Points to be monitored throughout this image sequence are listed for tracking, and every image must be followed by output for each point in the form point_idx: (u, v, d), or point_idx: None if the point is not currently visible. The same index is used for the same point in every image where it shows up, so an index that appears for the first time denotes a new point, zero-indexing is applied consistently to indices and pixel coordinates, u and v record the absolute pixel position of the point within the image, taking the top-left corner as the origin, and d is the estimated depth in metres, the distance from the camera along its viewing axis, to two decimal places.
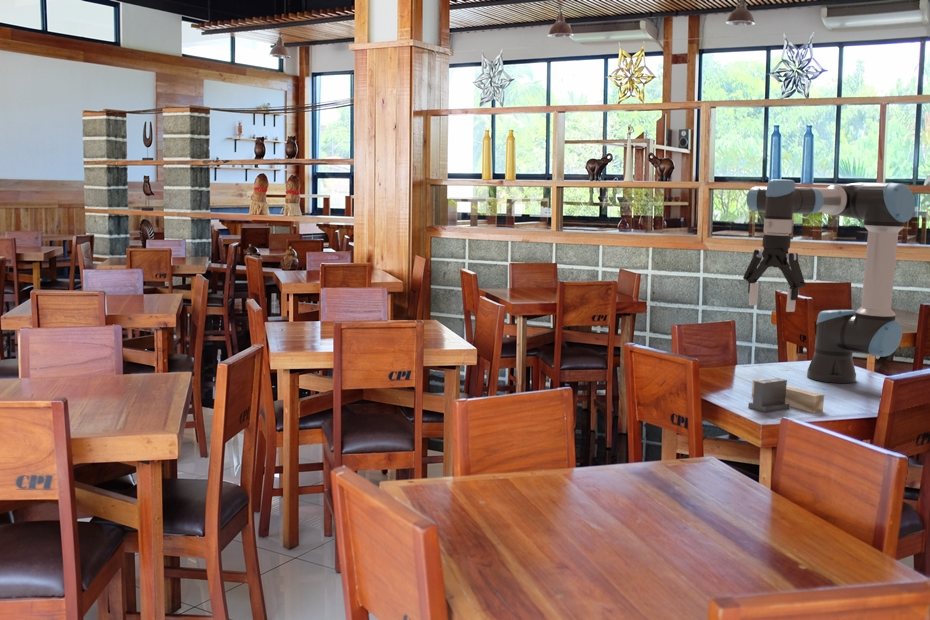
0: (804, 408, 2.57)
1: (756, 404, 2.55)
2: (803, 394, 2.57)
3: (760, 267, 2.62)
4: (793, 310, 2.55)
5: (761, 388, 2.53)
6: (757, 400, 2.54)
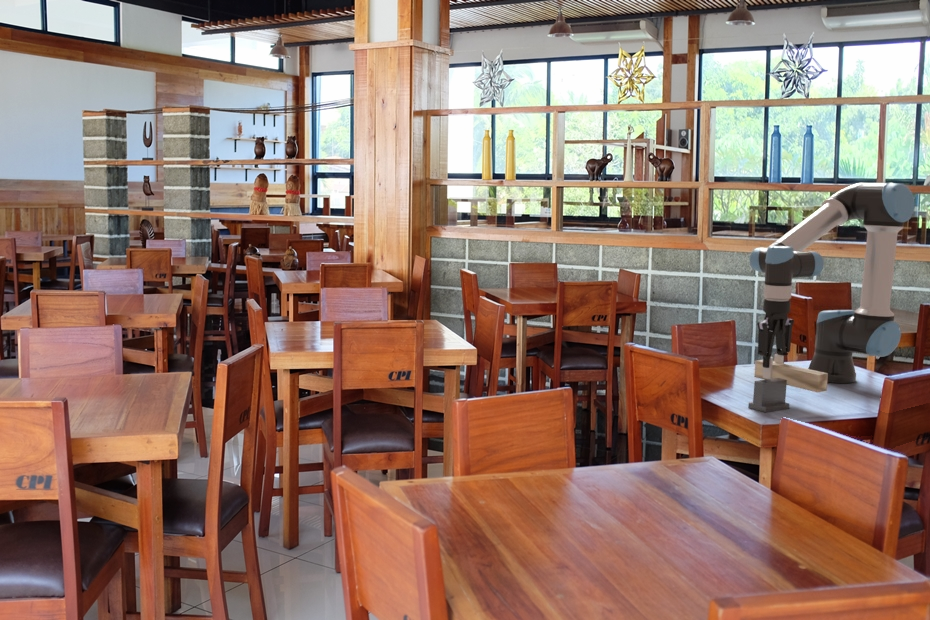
0: (808, 387, 2.56)
1: (756, 404, 2.55)
2: (807, 373, 2.56)
3: None
4: (768, 377, 2.67)
5: (761, 388, 2.53)
6: (757, 400, 2.54)
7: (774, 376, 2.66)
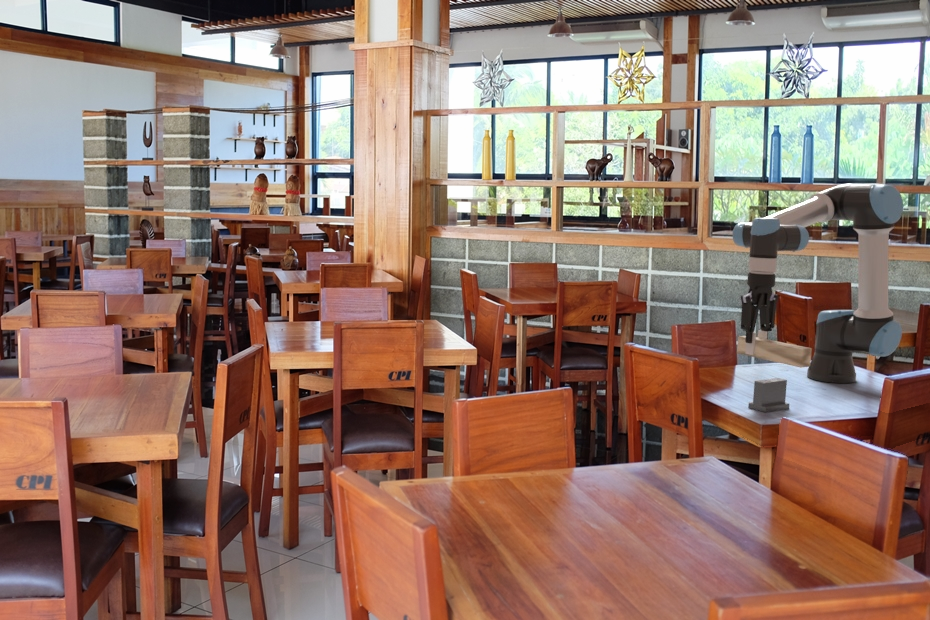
0: (791, 362, 2.48)
1: (756, 404, 2.55)
2: (790, 348, 2.48)
3: None
4: (751, 353, 2.58)
5: (761, 388, 2.53)
6: (757, 400, 2.54)
7: (757, 352, 2.58)
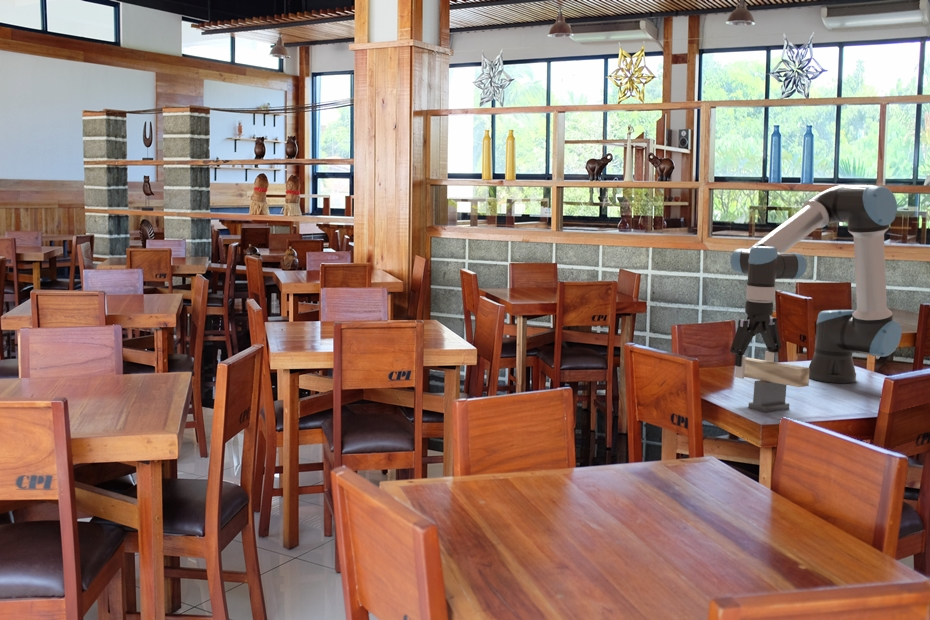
0: (789, 382, 2.49)
1: (756, 404, 2.55)
2: (788, 368, 2.49)
3: None
4: (740, 377, 2.57)
5: (761, 388, 2.53)
6: (757, 400, 2.54)
7: (755, 373, 2.58)
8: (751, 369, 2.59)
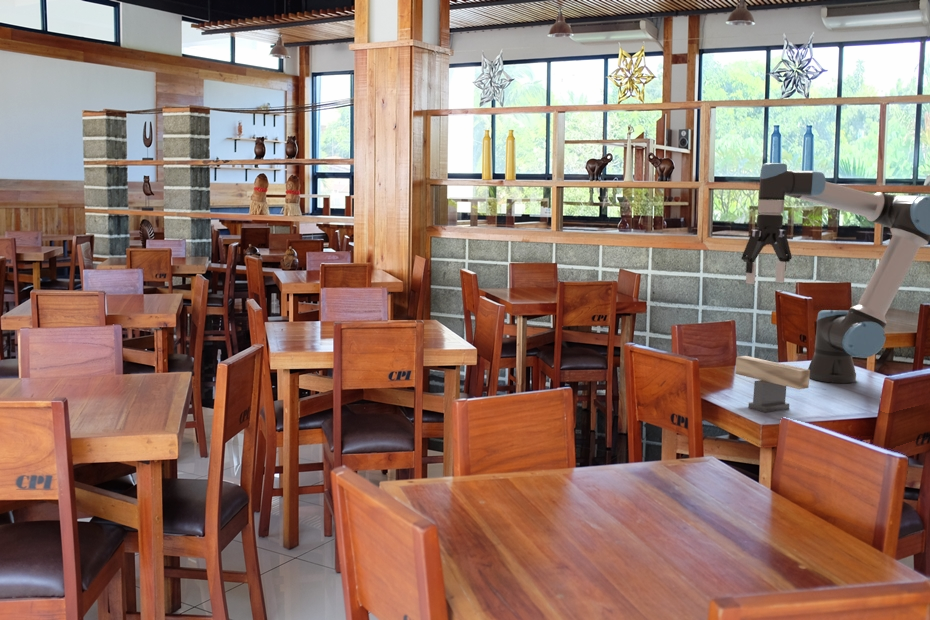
0: (789, 384, 2.49)
1: (756, 404, 2.55)
2: (788, 369, 2.49)
3: None
4: (751, 283, 2.77)
5: (761, 388, 2.53)
6: (757, 400, 2.54)
7: (755, 373, 2.58)
8: (751, 368, 2.59)
